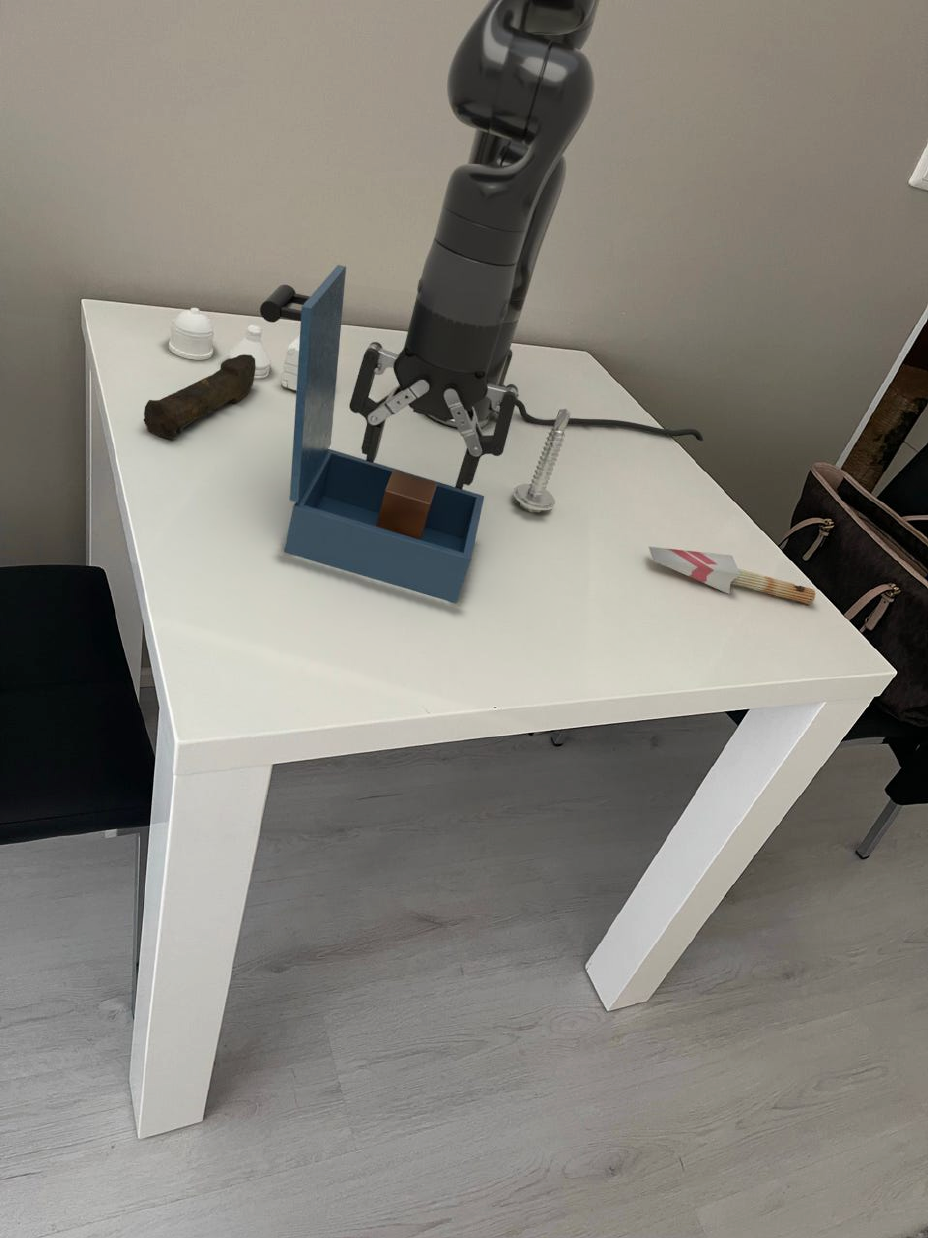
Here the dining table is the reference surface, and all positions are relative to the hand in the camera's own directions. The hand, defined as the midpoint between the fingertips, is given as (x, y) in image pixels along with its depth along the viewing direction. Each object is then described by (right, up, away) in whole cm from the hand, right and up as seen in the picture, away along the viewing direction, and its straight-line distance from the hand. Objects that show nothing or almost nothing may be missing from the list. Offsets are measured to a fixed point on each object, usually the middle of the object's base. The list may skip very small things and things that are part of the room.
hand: (415, 471), depth 89 cm
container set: (-22, +17, +30) cm, 41 cm away
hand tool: (-25, +10, +19) cm, 32 cm away
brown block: (-2, -7, +5) cm, 9 cm away
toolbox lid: (-8, +7, -4) cm, 12 cm away
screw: (+12, -2, +20) cm, 23 cm away
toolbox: (-4, -7, +5) cm, 9 cm away
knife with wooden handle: (+34, -10, +19) cm, 40 cm away
